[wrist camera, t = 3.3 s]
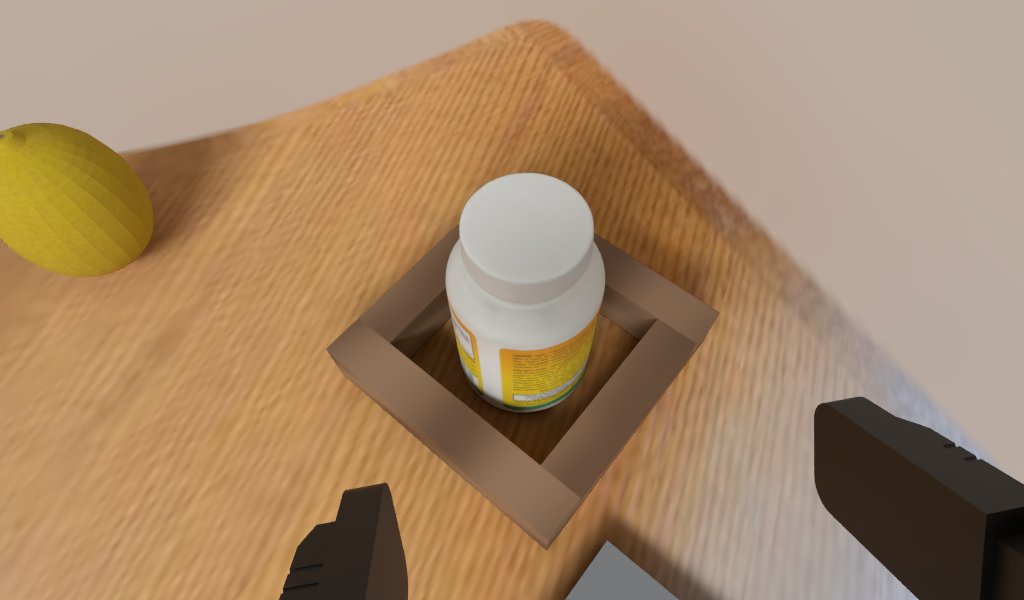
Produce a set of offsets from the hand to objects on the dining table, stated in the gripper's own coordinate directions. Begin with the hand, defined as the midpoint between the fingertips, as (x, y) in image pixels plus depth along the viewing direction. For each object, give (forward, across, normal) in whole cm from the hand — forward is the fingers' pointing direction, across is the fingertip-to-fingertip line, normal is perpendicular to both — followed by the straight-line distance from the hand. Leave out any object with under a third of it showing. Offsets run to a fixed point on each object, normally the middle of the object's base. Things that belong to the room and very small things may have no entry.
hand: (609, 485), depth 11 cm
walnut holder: (+15, 0, +3) cm, 15 cm away
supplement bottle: (+15, 0, +3) cm, 15 cm away
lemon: (+21, +18, -3) cm, 28 cm away
